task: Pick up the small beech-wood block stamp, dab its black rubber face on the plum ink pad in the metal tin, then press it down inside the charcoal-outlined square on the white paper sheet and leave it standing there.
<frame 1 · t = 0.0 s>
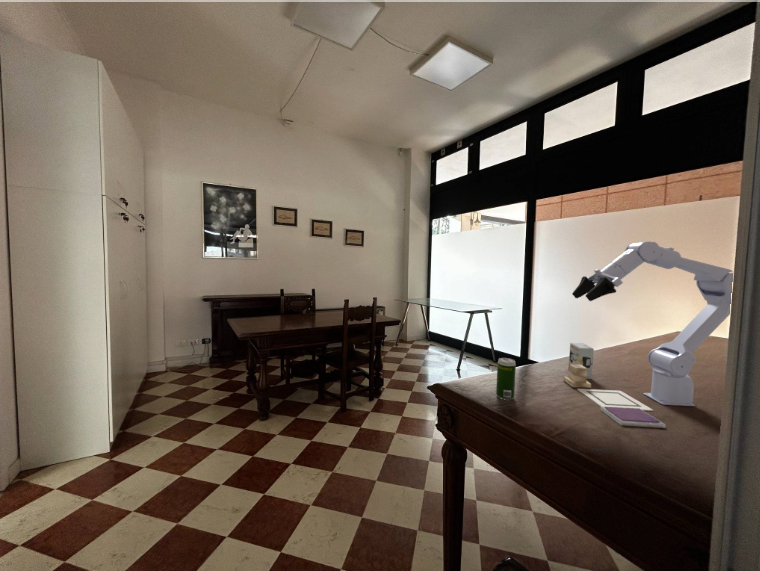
hand: (580, 297, 99), 32 cm above the table, tool tilted 50°, fingers open, 7 cm apart
ink pad: (630, 418, 86), on the table
green canister: (504, 397, 99), on the table
paper sheet: (612, 399, 99), on the table
wooden stamp: (576, 385, 110), on the table
ink box: (579, 375, 121), on the table
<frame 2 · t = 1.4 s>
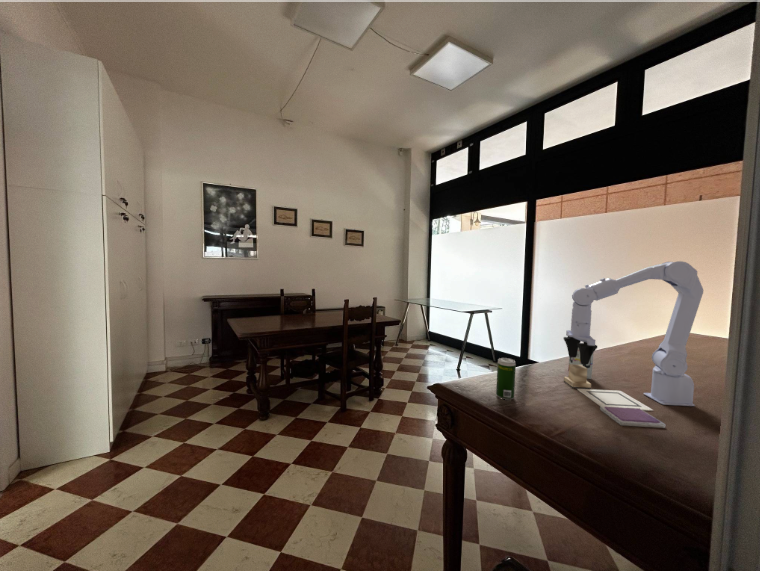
hand: (578, 360, 109), 9 cm above the table, tool pointing down, fingers open, 7 cm apart
nothing on the table moved.
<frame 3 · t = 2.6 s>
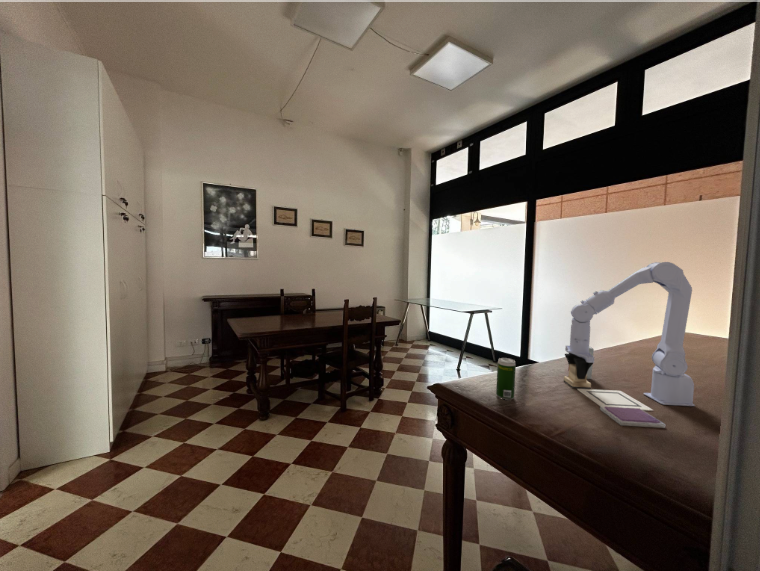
hand: (577, 376, 110), 3 cm above the table, tool pointing down, fingers closed on wooden stamp, 4 cm apart
wooden stamp: (576, 385, 110), on the table, touching gripper
everything else where it was.
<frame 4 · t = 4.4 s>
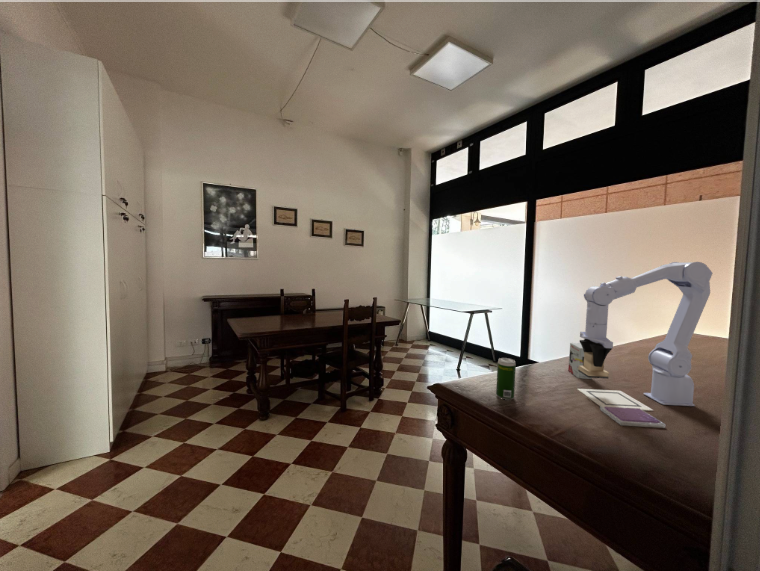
hand: (593, 364, 102), 10 cm above the table, tool pointing down, fingers closed on wooden stamp, 4 cm apart
wooden stamp: (592, 374, 102), point 7 cm above the table, touching gripper
everything else where it was.
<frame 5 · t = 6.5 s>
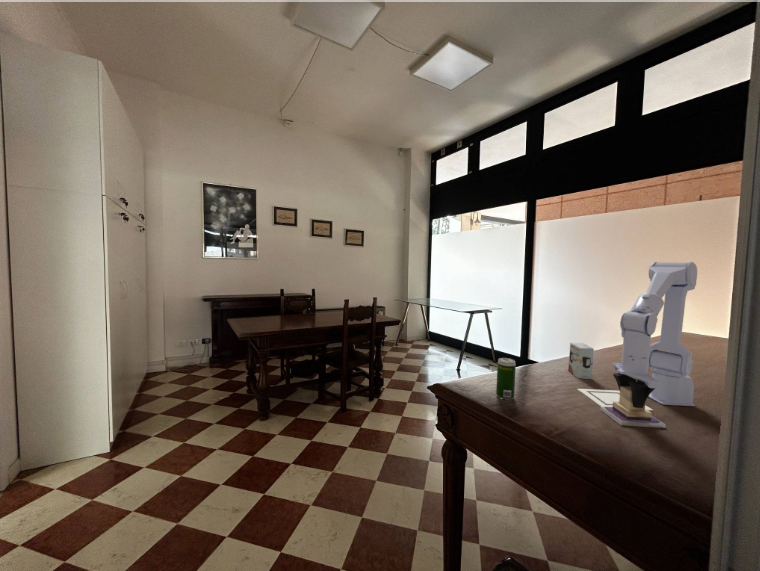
hand: (631, 403, 86), 4 cm above the table, tool pointing down, fingers closed on wooden stamp, 4 cm apart
wooden stamp: (631, 413, 86), point 1 cm above the table, touching gripper, ink pad
everything else where it was.
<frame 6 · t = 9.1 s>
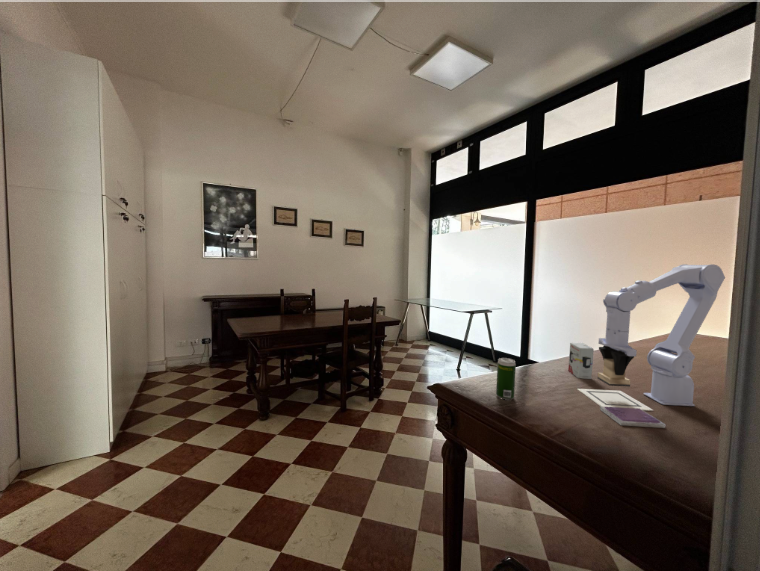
hand: (614, 372, 98), 9 cm above the table, tool pointing down, fingers closed on wooden stamp, 4 cm apart
wooden stamp: (613, 382, 98), point 6 cm above the table, touching gripper
everything else where it was.
when the fingers open (3 cm above the table, at t = 10.7 s): wooden stamp stays where it is, resting on paper sheet.
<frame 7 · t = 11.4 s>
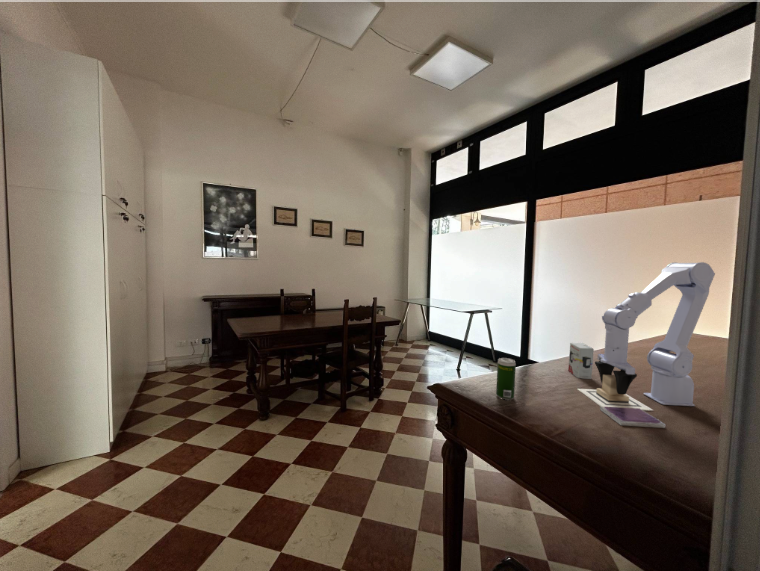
hand: (613, 388, 98), 3 cm above the table, tool pointing down, fingers open, 7 cm apart
wooden stamp: (612, 398, 99), resting on paper sheet
everything else where it was.
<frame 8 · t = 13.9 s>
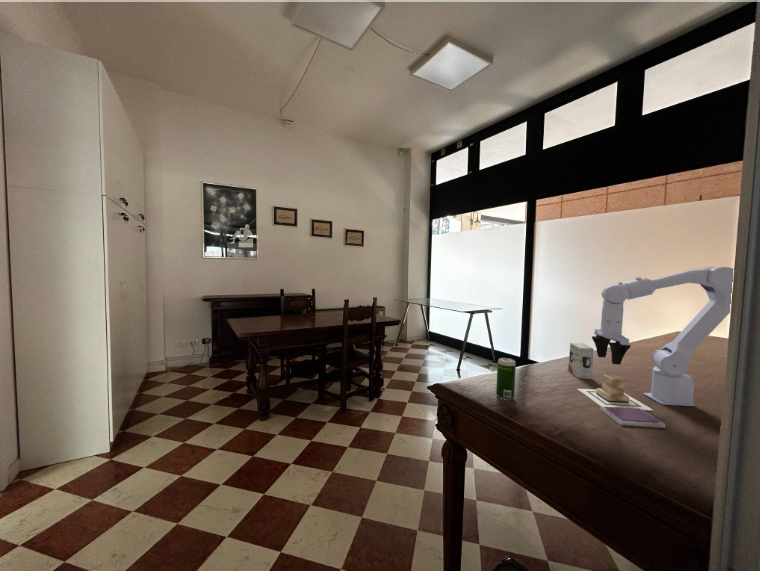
hand: (608, 360, 105), 10 cm above the table, tool pointing down, fingers open, 7 cm apart
nothing on the table moved.
at the end: wooden stamp 0.1 cm off-centre on the paper sheet, point 0.3 cm above the paper sheet's base; wooden stamp tilted 0°; the gripper is holding nothing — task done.
